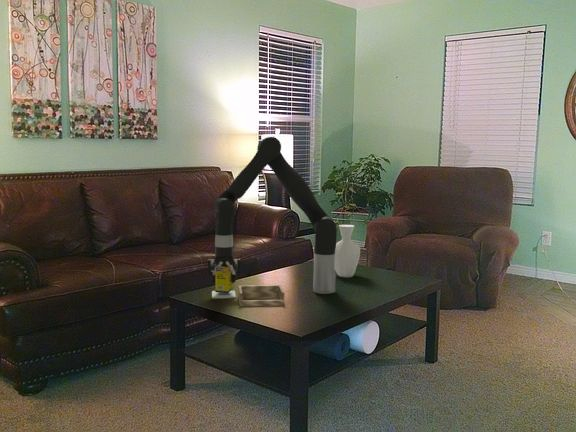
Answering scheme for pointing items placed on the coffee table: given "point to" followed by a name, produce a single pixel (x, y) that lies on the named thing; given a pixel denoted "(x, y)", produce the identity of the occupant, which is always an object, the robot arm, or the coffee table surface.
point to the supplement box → (223, 279)
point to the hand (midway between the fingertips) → (224, 283)
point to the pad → (223, 295)
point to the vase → (346, 253)
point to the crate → (261, 295)
